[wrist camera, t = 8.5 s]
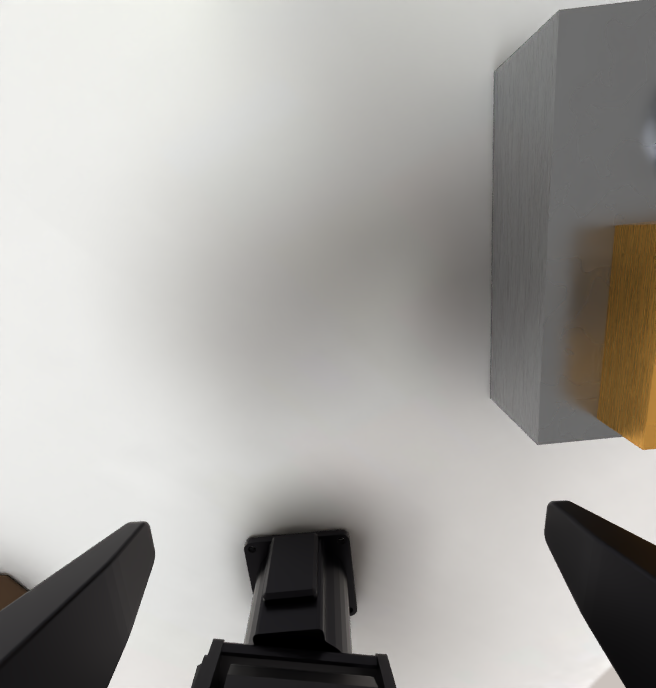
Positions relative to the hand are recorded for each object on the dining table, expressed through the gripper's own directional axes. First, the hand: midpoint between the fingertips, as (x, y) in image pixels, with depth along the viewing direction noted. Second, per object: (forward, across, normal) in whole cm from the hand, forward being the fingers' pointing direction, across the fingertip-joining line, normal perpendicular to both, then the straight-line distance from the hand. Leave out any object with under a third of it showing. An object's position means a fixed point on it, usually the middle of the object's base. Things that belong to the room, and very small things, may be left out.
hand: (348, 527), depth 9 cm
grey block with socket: (+13, -15, -6) cm, 20 cm away
